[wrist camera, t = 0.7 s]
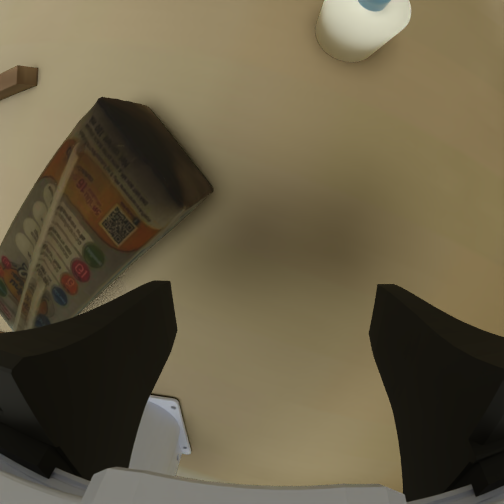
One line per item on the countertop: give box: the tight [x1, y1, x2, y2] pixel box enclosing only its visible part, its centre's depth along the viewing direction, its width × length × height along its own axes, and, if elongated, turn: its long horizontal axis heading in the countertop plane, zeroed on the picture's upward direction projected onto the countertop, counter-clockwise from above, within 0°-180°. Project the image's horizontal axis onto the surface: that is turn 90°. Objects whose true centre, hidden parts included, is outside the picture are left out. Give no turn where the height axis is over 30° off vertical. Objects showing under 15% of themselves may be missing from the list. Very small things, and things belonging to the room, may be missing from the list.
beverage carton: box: [0, 97, 213, 332], centre depth 19 cm, size 8×19×7 cm, turn 129°
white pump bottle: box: [315, 0, 411, 62], centre depth 12 cm, size 4×4×8 cm
